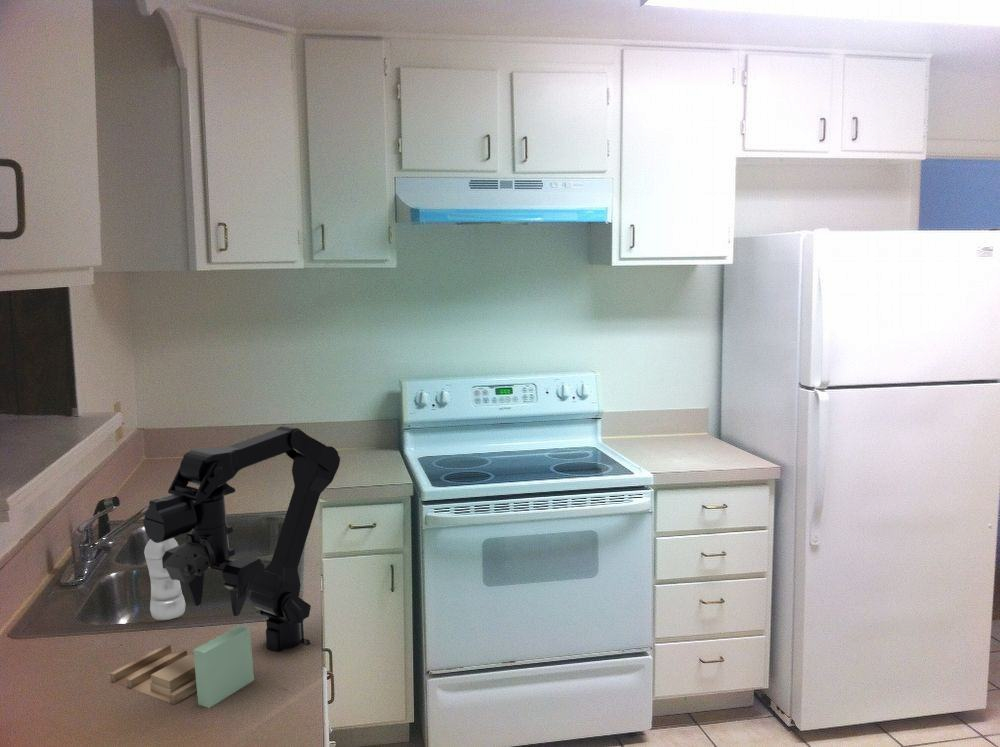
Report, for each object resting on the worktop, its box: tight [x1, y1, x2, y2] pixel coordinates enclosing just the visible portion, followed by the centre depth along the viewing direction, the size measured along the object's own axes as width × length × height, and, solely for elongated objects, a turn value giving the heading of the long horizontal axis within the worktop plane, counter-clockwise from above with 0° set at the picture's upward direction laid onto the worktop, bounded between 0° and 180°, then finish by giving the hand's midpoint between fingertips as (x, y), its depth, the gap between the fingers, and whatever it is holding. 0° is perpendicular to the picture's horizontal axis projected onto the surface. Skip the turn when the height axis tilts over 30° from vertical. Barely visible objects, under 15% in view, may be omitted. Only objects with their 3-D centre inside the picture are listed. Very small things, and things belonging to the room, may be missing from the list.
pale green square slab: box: [192, 624, 255, 709], centre depth 151 cm, size 10×2×10 cm, turn 150°
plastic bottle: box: [143, 537, 186, 621], centre depth 180 cm, size 6×7×20 cm
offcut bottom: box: [150, 675, 196, 698], centre depth 155 cm, size 10×5×2 cm, turn 150°
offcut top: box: [151, 651, 196, 690], centre depth 155 cm, size 9×5×2 cm, turn 150°
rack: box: [109, 643, 197, 705], centre depth 157 cm, size 12×16×2 cm
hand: (217, 610), depth 155 cm, fingers open, 9 cm apart
